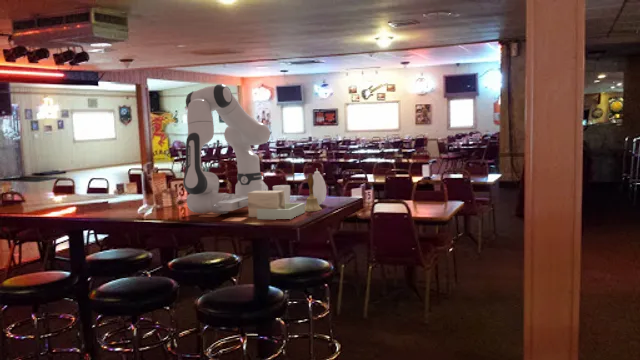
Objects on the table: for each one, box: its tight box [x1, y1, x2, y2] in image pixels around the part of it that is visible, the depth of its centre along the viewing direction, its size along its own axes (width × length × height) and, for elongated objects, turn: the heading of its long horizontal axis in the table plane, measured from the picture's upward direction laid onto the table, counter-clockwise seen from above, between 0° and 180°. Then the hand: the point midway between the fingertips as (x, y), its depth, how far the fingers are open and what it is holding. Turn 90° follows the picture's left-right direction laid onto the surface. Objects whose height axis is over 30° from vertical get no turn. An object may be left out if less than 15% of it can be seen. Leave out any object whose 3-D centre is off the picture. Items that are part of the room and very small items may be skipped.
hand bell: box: [305, 173, 323, 212], centre depth 240 cm, size 8×8×16 cm
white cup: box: [272, 184, 291, 203], centre depth 250 cm, size 8×8×10 cm
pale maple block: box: [247, 190, 285, 218], centre depth 230 cm, size 8×13×10 cm, turn 72°
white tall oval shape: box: [308, 169, 327, 206], centre depth 255 cm, size 8×8×18 cm
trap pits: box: [198, 213, 250, 222], centre depth 231 cm, size 20×24×1 cm
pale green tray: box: [256, 202, 306, 220], centre depth 228 cm, size 18×14×4 cm
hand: (252, 203), depth 232 cm, fingers closed, pressing on pale maple block
